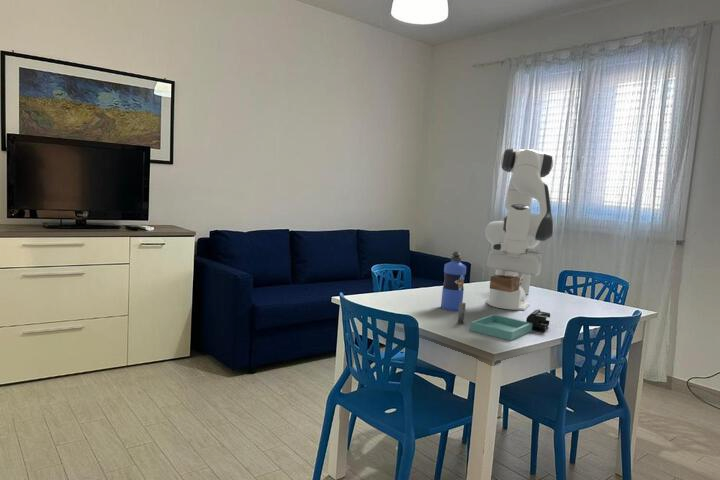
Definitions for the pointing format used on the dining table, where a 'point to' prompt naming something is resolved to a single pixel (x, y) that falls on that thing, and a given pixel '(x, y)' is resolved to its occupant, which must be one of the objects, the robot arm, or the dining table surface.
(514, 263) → the robot arm
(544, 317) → the black blocky piece
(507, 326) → the tray
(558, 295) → the dining table surface
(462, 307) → the stake
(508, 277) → the wooden box
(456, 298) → the water bottle
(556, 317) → the dining table surface
